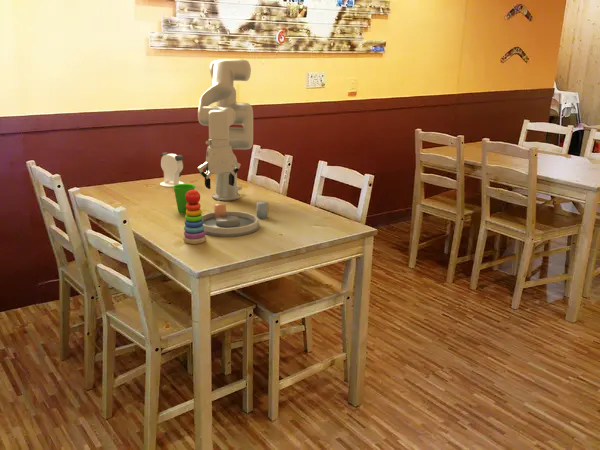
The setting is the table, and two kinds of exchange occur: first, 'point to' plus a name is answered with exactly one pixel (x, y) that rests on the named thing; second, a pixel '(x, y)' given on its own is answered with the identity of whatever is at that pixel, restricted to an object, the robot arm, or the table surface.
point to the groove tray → (230, 224)
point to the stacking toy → (193, 219)
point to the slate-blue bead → (262, 210)
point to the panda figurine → (171, 169)
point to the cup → (182, 196)
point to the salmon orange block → (219, 210)
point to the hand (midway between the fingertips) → (219, 186)
